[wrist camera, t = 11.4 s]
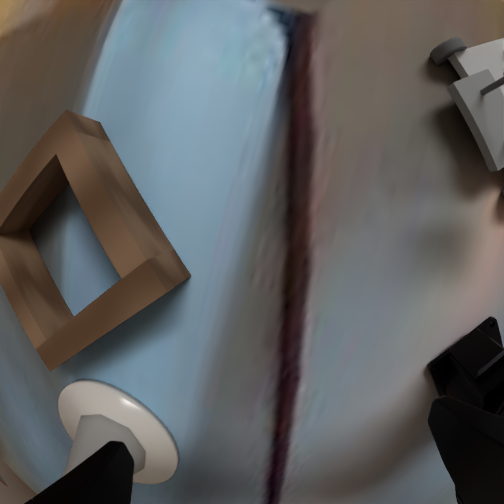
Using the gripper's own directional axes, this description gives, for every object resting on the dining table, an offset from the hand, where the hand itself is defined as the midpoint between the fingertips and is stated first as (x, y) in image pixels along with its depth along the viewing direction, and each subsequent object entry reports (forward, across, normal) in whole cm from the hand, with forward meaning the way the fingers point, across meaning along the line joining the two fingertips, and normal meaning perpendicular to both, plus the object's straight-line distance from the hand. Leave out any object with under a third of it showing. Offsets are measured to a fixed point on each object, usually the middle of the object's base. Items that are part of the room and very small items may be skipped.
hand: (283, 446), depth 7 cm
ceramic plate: (+14, +15, +13) cm, 24 cm away
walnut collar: (+14, +13, -4) cm, 20 cm away
